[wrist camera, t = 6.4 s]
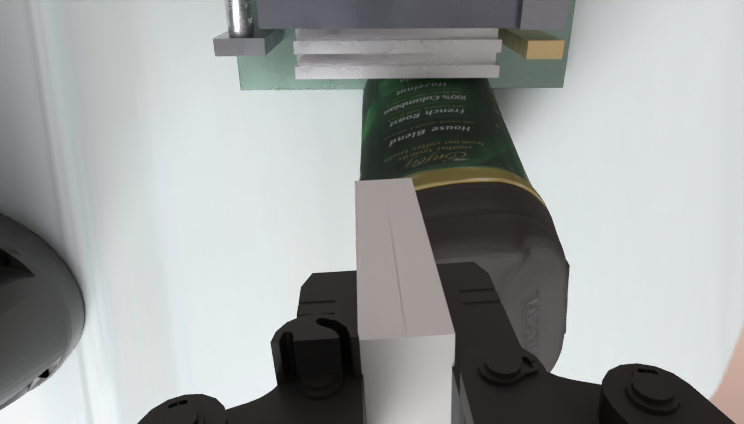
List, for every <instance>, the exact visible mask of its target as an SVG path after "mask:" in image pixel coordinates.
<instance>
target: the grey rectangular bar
mask: <svg viewBox="0 0 744 424" xmlns="http://www.w3.org/2000/svg"><path fill="white" fill-rule="evenodd" d="M256 2H257V13H258V23H259V29H411V28H518V29H520V30H565V28H566V21H567V14H568V7H569V0H256Z"/></svg>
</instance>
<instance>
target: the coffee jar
mask: <svg viewBox="0 0 744 424" xmlns="http://www.w3.org/2000/svg"><path fill="white" fill-rule="evenodd" d="M400 178H412V182H413V185H414V189H415V192H416V196H417V199H418V203H419V207H420V210H421V214H422V217H423V221H424V224H425V228H426V232H427V235H428V239H429V242H430V246H431V249H432V253H433V256H434V260H435V264H444V263H460V262H475V263H476V264H477V265H479V266H480V267H481V268H482V269H484V270H485V271H486V272H487V273H489V275H490V277H491V280H492V282H493V284H494V286H495V291H497V293H498V295H499V298H500V300H501V303H502V304H503V307H504V309H505V311H506V313H507V316H508V318H509V320H510V322H511V325H512V327H513V329H514V332H515V334H516V336H517V338H518V341H519V343H520V345H521V347H522V348H524V349H525V350H527V351H528V352H530V353H532V354H533V355H535V356H536V357H537V358H538V359H539V361H540V362H541V363H542V364H543V366H544V367H545V369H546V371H547V372H549V373H550V372H551V370H552V369H553V367H554V366H555V364H556V362H557V360H558V358H559V356H560V353H561V350H562V345H563V339H564V334H565V332H566V314H567V295H568V280H569V267H570V266H569V264H568V262H567V260H566V259H565V255H564V251H563V248H562V246H561V243H560V241H559V238H558V235H557V232H556V229H555V226H554V223H553V220H552V217H551V215H550V213H549V211H548V209H547V207H546V205H545V203H544V201H543V200H542V198H541V197H540V195H539V194H538V193H537V192H536V191H535V189H534V188H533V187H532V185H531V183H530V181H529V179H528V177H527V175H526V172H525V170H524V168H523V166H522V163H521V161H520V158H519V156H518V154H517V151H516V149H515V146H514V144H513V142H512V139H511V137H510V134H509V132H508V130H507V127H506V125H505V123H504V120H503V118H502V115H501V112H500V110H499V107H498V104H497V102H496V99H495V97H494V94H493V91H492V89H491V86H490V84H489V81H488V79H487V78H390V79H368V80H367V82H366V85H365V88H364V93H363V109H362V143H361V164H360V181H366V180H383V179H400Z"/></svg>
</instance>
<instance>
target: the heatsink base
mask: <svg viewBox="0 0 744 424" xmlns="http://www.w3.org/2000/svg"><path fill="white" fill-rule="evenodd" d="M574 6H575V0H569V7H568V14H567V21H566V28H565V30H520V29H518V28H411V29H259V23H258V13H257V2H256V0H225V7H226V15H227V24H228V32H226V33H223V34H221V35H219V36H217V37H215V38H213V42H214V50H215V56H237V60H238V69H239V78H240V87H241V90H319V89H364V88H365V85H366V82H367V80H368V79H390V78H487V79H488V81H489V84H490V86H491V88H563V83H564V76H565V69H566V62H567V55H568V48H569V41H570V34H571V27H572V20H573V13H574Z"/></svg>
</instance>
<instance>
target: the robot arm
mask: <svg viewBox="0 0 744 424" xmlns="http://www.w3.org/2000/svg"><path fill="white" fill-rule="evenodd" d="M355 208H356V262H357V271H341V272H325V273H312V275H311V276H310V277H309V278H308V279H307V281H306V282H305V283H304V284H303V285H302V286H301V291H300V297H299V305H298V310H297V318H296V319H294V320H291V321H289V322H287V323H286V324H284V325H283V326H282V327H281V328H280V329H279V330H277V331H276V333H275V335H274V337H273V339H272V341H271V349H272V355H273V361H274V367H275V373H276V379H277V386H276V387H275V388H274V389H273V390H272V391H271V392H269V393H267V394H266V395H264V396H263V397H261V398H258V399H256V400H254V401H251V402H249V403H246V404H242V405H239V406H236V407H233V408H230V409H227V410H225V407H224V406H223V405H222V404H221V403H220V402H219V401H218V400H217V399H216V398H213V397H210V396H207V395H204V394H189V395H183V396H179V397H176V398H173V399H169V400H167V401H165V402H164V403H162V404H160V405H158V406H157V407H155V408H153V409H152V410H151V411H150V412H149V413H148V414H147V415H146V416H144V417H143V418H142V419H141V420H140V421H139V423H138V424H735V423H734V422H733V421H732V420H730V419H729V418H728V417H727V416H726V415H725V414H724V413H722V412H721V411H720V410H719V409H718V408H717V407H715V406H714V405H713V404H712V403H711V402H710V401H708V400H707V399H706V398H705V397H704V396H703V395H701V394H700V393H699V392H698V391H697V390H696V389H694V388H693V387H692V386H691V385H690V384H688V383H687V382H685V381H684V380H682V379H681V378H679V377H678V376H676V375H675V374H673V373H671V372H668V371H666V370H663V369H661V368H658V367H655V366H650V365H643V364H637V363H636V364H625V365H619V366H617V367H615V368H613V369H611V370H609V371H608V372H607V374H606V375H605V377H604V379H603V380H602V385H600V384H594V383H588V382H582V381H576V380H571V379H567V378H563V377H559V376H556V375H554V374H552V373H549V372H547V371H546V369H545V367H544V366H543V364H542V363H541V362H540V361H539V359H538V358H537V357H536V356H535V355H533V354H532V353H530V352H528V351H527V350H525V349H524V348H522V347H521V345H520V343H519V341H518V338H517V336H516V334H515V332H514V329H513V327H512V325H511V322H510V320H509V318H508V316H507V313H506V311H505V309H504V307H503V304H502V303H501V300H500V298H499V295H498V293H497V291H495V286H494V284H493V282H492V280H491V277H490V275H489V273H487V272H486V271H485V270H484V269H482V268H481V267H480V266H479V265H477V264H476V263H475V262H460V263H444V264H435V260H434V256H433V253H432V249H431V246H430V242H429V239H428V235H427V232H426V228H425V224H424V221H423V217H422V214H421V210H420V207H419V203H418V199H417V196H416V192H415V189H414V185H413V182H412V178H400V179H383V180H366V181H355ZM83 326H84V306H83V301H82V297H81V294H80V291H79V288H78V286H77V283H76V281H75V279H74V277H73V276H72V274H71V272H70V271H69V269H68V268H67V266H66V265H65V264H64V262H63V261H62V260H61V259H60V257H59V256H58V255H57V254H56V253H55V252H54V251H53V250H52V249H51V248H50V247H49V246H48V245H47V244H46V243H45V242H44V241H42V240H41V239H40V238H39V237H38V236H36V235H35V234H34V233H32V232H31V231H29V230H28V229H26V228H25V227H23V226H21V225H20V224H18V223H16V222H14V221H13V220H11V219H9V218H6V217H4V216H2V215H0V410H2V409H3V408H5V407H6V406H8V405H9V404H11V403H12V402H14V401H16V400H17V399H19V398H20V397H21V396H23V395H24V394H26V393H27V392H28V391H30V390H32V389H34V388H36V387H37V386H39V385H40V384H42V383H43V382H45V381H46V380H47V379H49V378H50V377H51V376H52V375H53V374H54V373H55V372H56V371H57V370H58V369H59V368H60V366H61V365H62V364H63V363H64V361H65V360H66V359H67V357H68V356H69V355H70V354H71V352H72V351H73V350H74V348H75V347H76V345H77V344H78V341H79V339H80V337H81V334H82V331H83Z"/></svg>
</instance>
